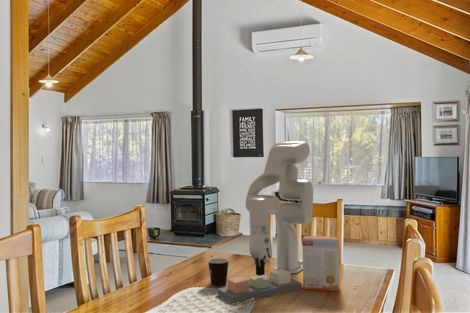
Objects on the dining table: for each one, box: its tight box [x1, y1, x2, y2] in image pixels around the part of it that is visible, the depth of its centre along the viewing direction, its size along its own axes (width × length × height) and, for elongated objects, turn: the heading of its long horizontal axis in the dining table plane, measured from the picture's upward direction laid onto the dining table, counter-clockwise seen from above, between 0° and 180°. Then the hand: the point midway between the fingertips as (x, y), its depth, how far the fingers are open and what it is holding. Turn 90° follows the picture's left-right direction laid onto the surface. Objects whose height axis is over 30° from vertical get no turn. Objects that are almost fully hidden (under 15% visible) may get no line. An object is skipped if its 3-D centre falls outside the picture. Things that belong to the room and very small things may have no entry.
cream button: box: [269, 269, 292, 285], centre depth 178 cm, size 6×6×5 cm
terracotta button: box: [227, 276, 250, 294], centre depth 167 cm, size 6×6×5 cm
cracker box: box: [301, 235, 340, 293], centre depth 175 cm, size 14×6×21 cm, turn 71°
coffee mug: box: [207, 257, 229, 288], centre depth 185 cm, size 12×9×10 cm
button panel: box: [216, 278, 302, 304], centre depth 173 cm, size 32×12×2 cm, turn 120°
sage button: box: [249, 275, 271, 289], centre depth 173 cm, size 6×6×5 cm
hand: (260, 274), depth 173 cm, fingers closed
